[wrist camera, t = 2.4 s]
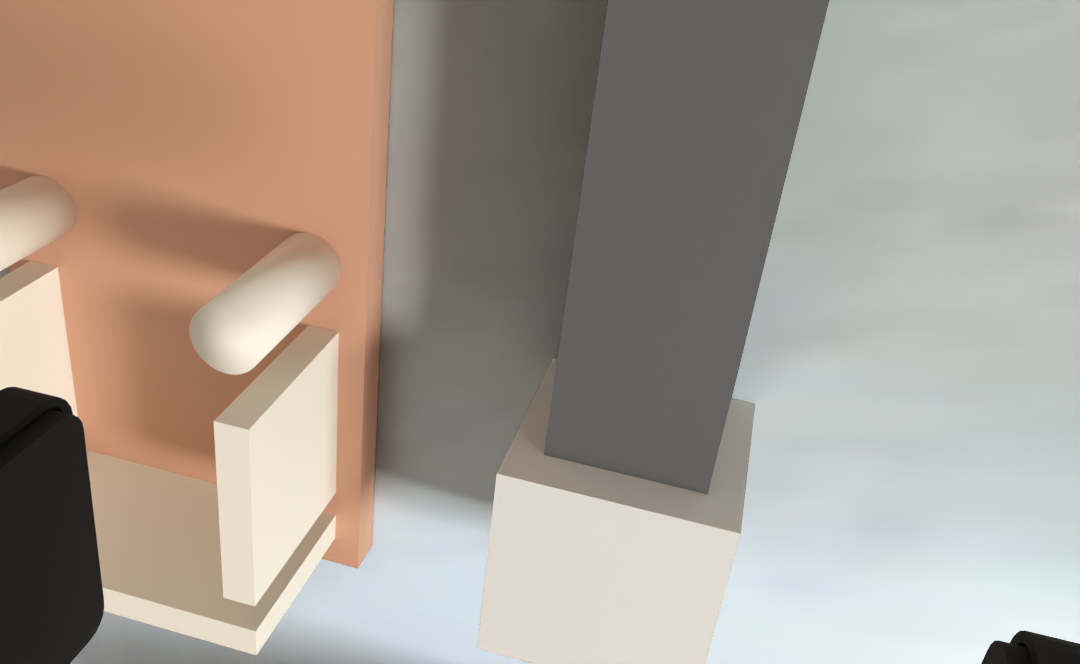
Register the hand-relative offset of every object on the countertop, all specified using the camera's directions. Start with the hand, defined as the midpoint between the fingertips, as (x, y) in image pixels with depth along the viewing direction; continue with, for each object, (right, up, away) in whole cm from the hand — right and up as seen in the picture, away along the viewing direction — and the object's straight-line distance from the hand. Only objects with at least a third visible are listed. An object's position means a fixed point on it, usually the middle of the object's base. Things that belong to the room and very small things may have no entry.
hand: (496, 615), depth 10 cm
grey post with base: (+4, +6, +12) cm, 14 cm away
